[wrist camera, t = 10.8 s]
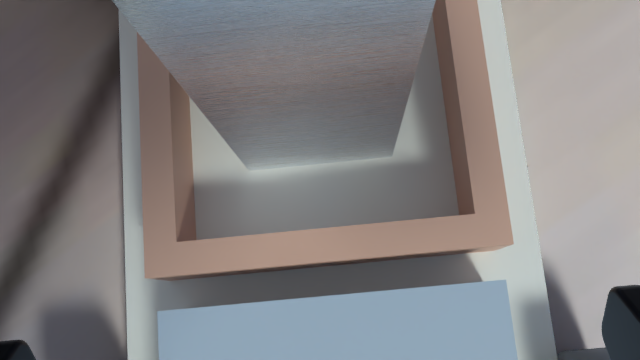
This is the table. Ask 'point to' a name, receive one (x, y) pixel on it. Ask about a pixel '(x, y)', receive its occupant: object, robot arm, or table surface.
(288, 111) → the blue-grey rectangular box
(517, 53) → the table surface
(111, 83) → the table surface
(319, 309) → the chassis
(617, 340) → the robot arm
